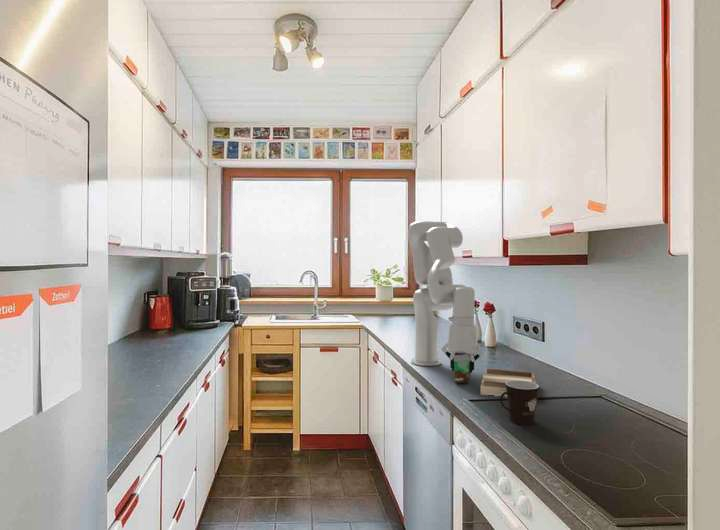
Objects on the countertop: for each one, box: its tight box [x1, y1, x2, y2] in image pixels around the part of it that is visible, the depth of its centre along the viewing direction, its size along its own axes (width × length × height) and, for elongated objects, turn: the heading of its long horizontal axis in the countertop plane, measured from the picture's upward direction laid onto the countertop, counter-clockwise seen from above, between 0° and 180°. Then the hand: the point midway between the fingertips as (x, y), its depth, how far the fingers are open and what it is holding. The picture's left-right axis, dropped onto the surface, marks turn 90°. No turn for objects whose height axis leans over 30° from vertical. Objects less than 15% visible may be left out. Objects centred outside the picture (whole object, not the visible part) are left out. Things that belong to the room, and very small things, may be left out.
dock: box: [480, 368, 537, 398], centre depth 153 cm, size 18×17×4 cm
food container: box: [453, 353, 472, 384], centre depth 162 cm, size 12×6×10 cm, turn 166°
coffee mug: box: [499, 380, 540, 426], centre depth 124 cm, size 12×9×10 cm
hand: (462, 370), depth 163 cm, fingers closed on food container, 5 cm apart
